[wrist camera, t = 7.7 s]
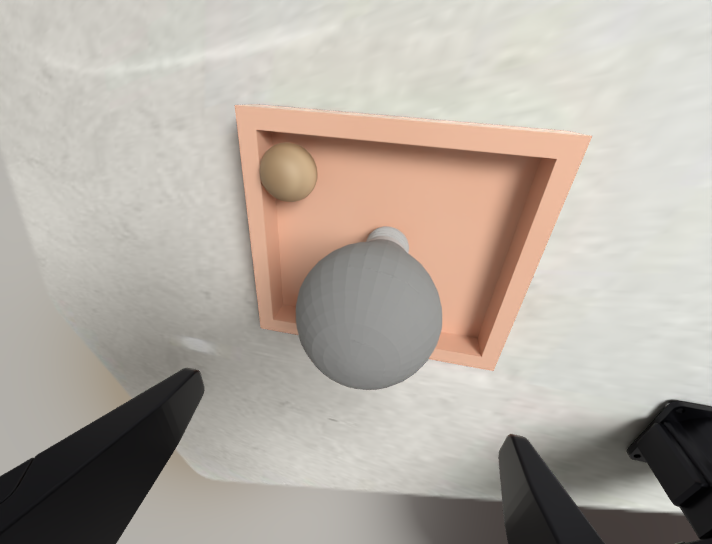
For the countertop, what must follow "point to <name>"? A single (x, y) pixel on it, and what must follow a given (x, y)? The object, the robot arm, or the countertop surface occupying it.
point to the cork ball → (288, 172)
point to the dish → (412, 210)
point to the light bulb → (369, 312)
